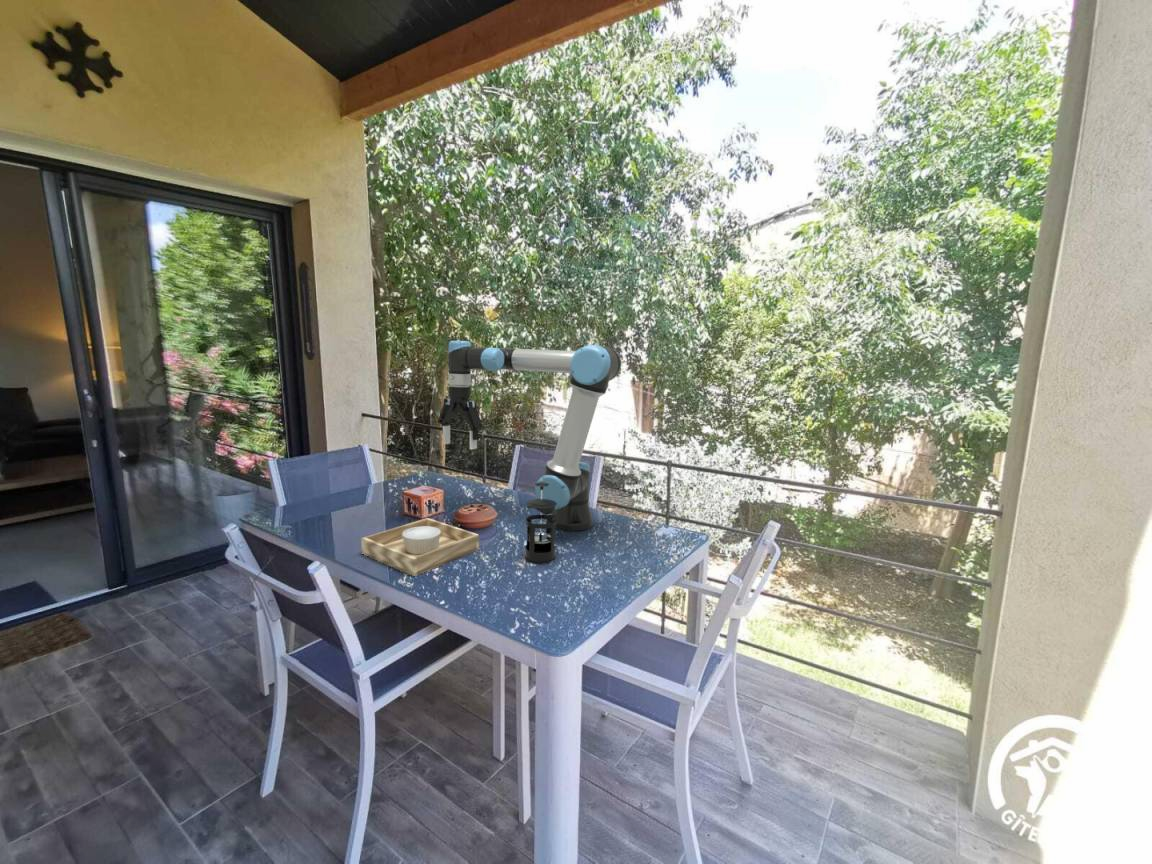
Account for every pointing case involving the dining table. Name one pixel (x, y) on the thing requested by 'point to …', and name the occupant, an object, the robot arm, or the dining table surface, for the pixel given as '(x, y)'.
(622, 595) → the dining table surface
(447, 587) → the dining table surface
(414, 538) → the ramekin
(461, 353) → the robot arm
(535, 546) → the french press
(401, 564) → the pine tray
